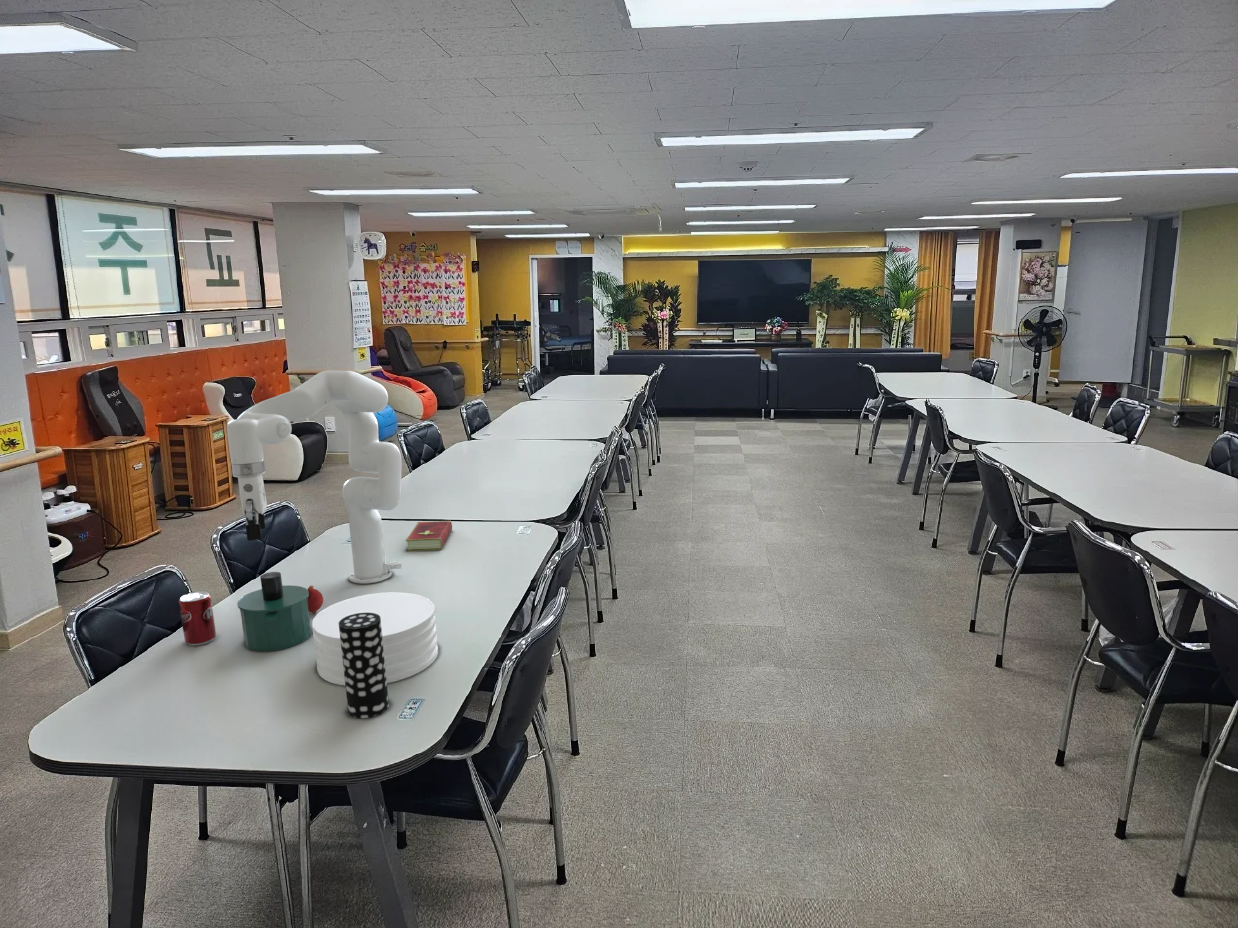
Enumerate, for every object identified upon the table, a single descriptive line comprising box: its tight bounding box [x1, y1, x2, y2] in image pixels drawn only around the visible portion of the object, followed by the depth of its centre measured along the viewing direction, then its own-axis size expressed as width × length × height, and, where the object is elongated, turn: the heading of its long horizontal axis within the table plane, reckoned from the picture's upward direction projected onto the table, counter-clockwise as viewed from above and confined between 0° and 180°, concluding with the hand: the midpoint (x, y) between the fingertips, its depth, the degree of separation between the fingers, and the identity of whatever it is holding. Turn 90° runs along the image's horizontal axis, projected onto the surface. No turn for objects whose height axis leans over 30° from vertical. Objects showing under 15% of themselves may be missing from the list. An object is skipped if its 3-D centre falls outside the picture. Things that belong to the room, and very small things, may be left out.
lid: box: [236, 571, 309, 613], centre depth 208 cm, size 17×17×7 cm
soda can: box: [178, 591, 217, 646], centre depth 210 cm, size 7×7×12 cm
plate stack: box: [311, 591, 439, 687], centre depth 197 cm, size 28×28×12 cm
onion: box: [306, 585, 324, 614], centre depth 226 cm, size 6×6×8 cm
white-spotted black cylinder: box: [339, 613, 390, 719], centre depth 173 cm, size 8×8×20 cm
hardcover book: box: [405, 520, 453, 552], centre depth 287 cm, size 12×21×4 cm, turn 2°
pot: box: [239, 599, 312, 652], centre depth 210 cm, size 16×21×10 cm
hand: (256, 534), depth 209 cm, fingers open, 9 cm apart
